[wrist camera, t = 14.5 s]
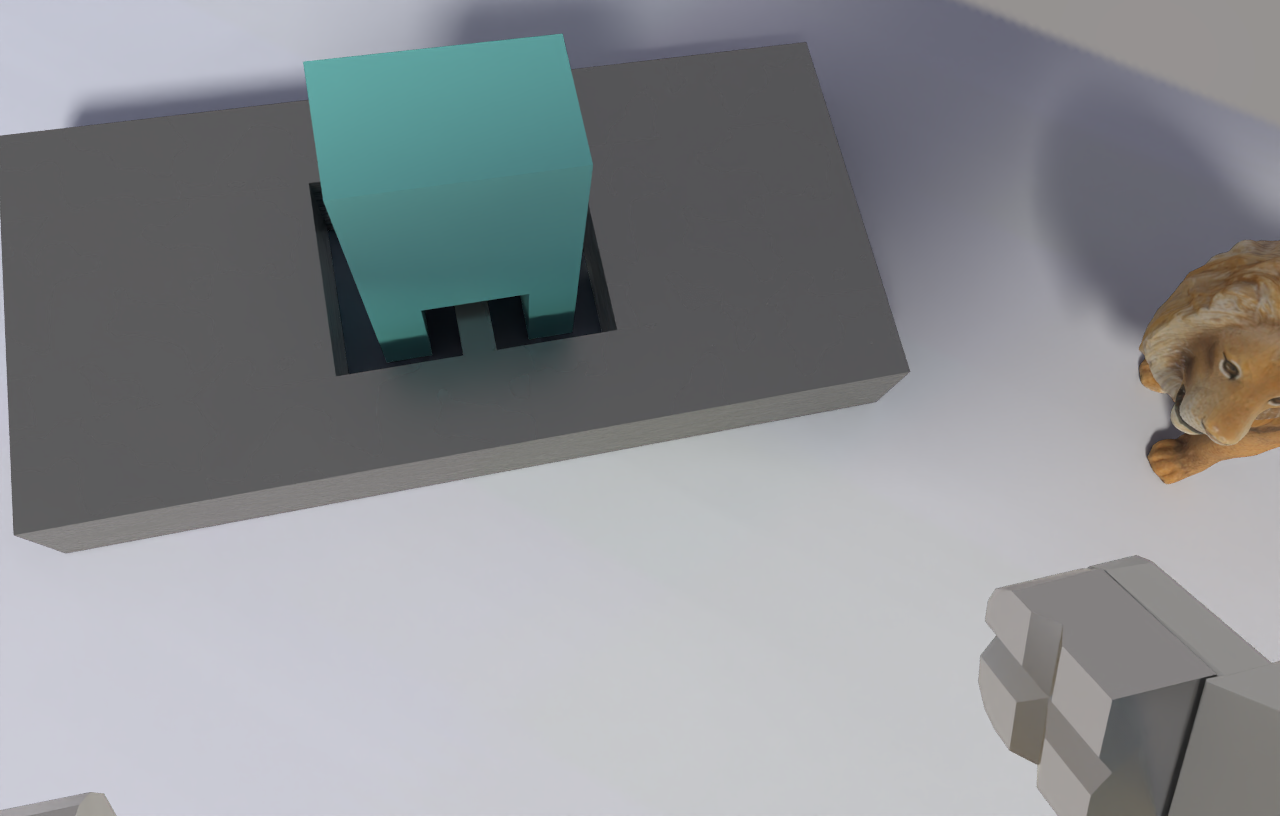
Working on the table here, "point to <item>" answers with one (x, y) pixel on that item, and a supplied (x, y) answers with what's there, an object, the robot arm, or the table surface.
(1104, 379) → the table surface
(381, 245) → the teal rectangular prism
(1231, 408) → the lion figurine
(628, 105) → the gray rectangular base
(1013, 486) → the table surface
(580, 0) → the table surface
